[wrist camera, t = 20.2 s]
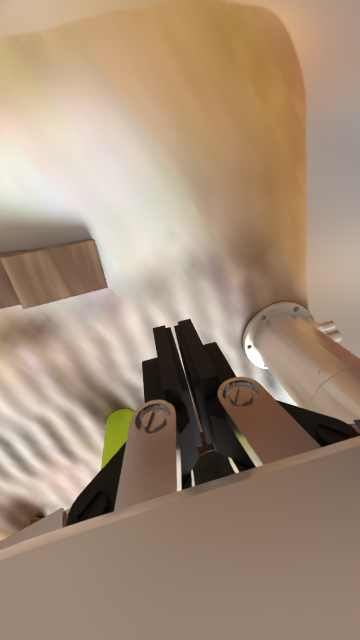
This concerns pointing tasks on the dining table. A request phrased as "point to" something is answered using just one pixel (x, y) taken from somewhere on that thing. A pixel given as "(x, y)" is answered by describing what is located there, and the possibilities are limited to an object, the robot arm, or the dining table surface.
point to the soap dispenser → (116, 433)
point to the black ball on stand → (210, 464)
